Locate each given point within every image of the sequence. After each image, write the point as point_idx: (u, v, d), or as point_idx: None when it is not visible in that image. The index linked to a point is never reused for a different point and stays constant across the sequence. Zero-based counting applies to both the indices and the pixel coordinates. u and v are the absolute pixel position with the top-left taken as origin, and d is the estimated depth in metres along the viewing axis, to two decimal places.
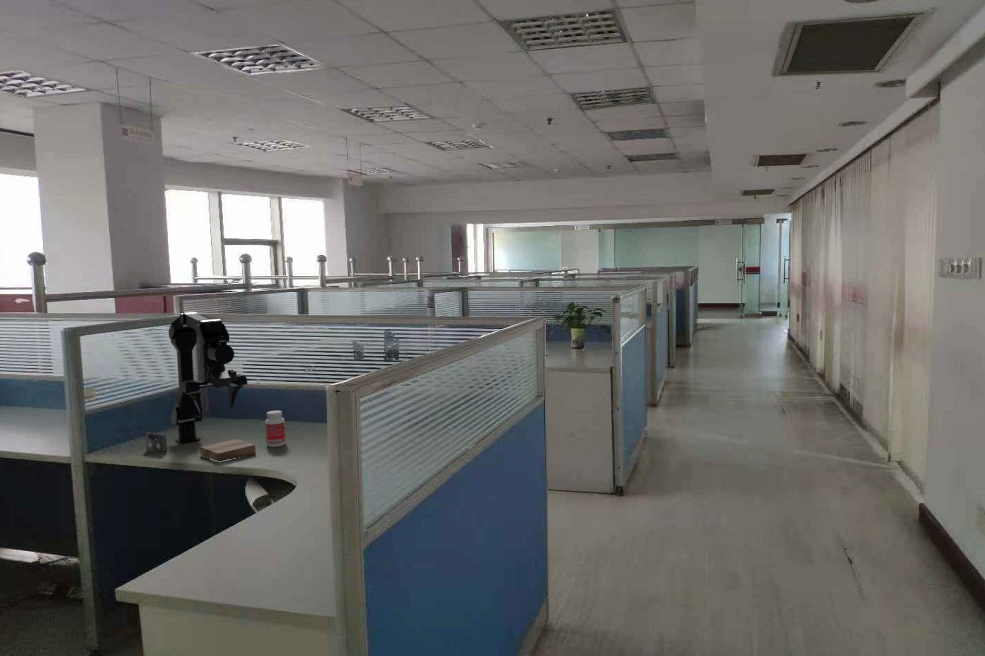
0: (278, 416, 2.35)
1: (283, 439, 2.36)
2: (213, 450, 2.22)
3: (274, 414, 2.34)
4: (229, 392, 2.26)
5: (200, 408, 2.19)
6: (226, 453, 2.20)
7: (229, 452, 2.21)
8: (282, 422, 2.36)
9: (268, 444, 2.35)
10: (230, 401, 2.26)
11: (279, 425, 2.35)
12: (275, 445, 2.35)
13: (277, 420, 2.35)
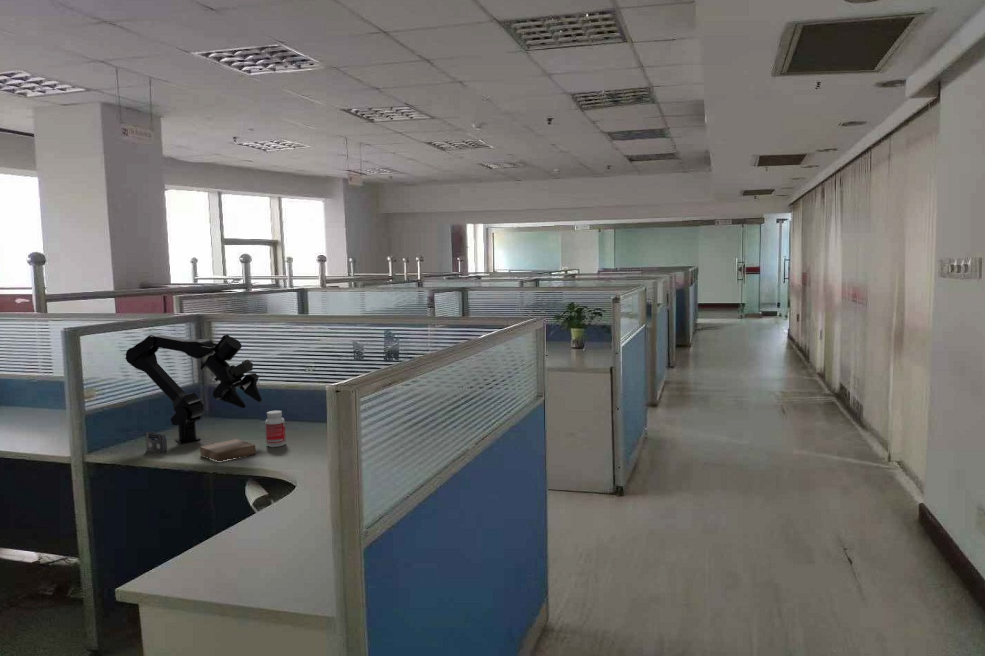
0: (278, 416, 2.35)
1: (283, 439, 2.36)
2: (213, 450, 2.22)
3: (274, 414, 2.34)
4: (250, 392, 2.43)
5: (242, 402, 2.33)
6: (226, 453, 2.20)
7: (229, 452, 2.21)
8: (282, 422, 2.36)
9: (268, 444, 2.35)
10: (256, 395, 2.42)
11: (279, 425, 2.35)
12: (275, 445, 2.35)
13: (277, 420, 2.35)
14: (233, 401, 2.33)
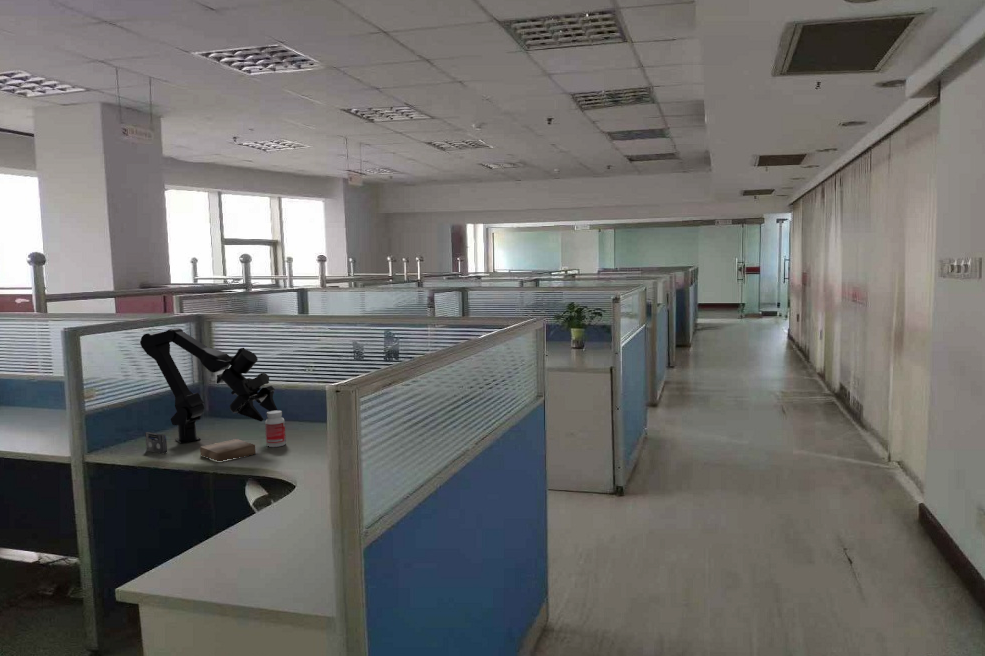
0: (278, 416, 2.35)
1: (283, 439, 2.36)
2: (213, 450, 2.22)
3: (274, 414, 2.34)
4: (266, 405, 2.42)
5: (259, 415, 2.32)
6: (226, 453, 2.20)
7: (229, 452, 2.21)
8: (282, 422, 2.36)
9: (268, 444, 2.35)
10: (273, 408, 2.42)
11: (279, 425, 2.35)
12: (275, 445, 2.35)
13: (277, 420, 2.35)
14: (250, 414, 2.32)
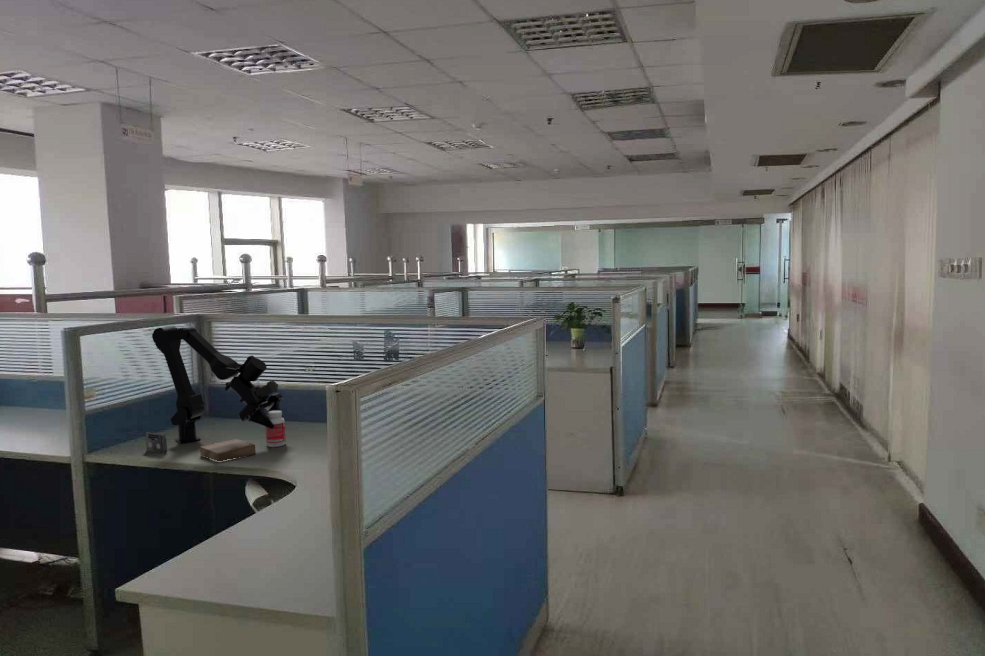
0: (278, 416, 2.35)
1: (283, 439, 2.36)
2: (213, 450, 2.22)
3: (274, 414, 2.34)
4: None
5: (270, 422, 2.33)
6: (226, 453, 2.20)
7: (229, 452, 2.21)
8: (282, 422, 2.36)
9: (268, 444, 2.35)
10: None
11: (279, 425, 2.35)
12: (275, 445, 2.35)
13: (277, 420, 2.35)
14: (262, 422, 2.33)
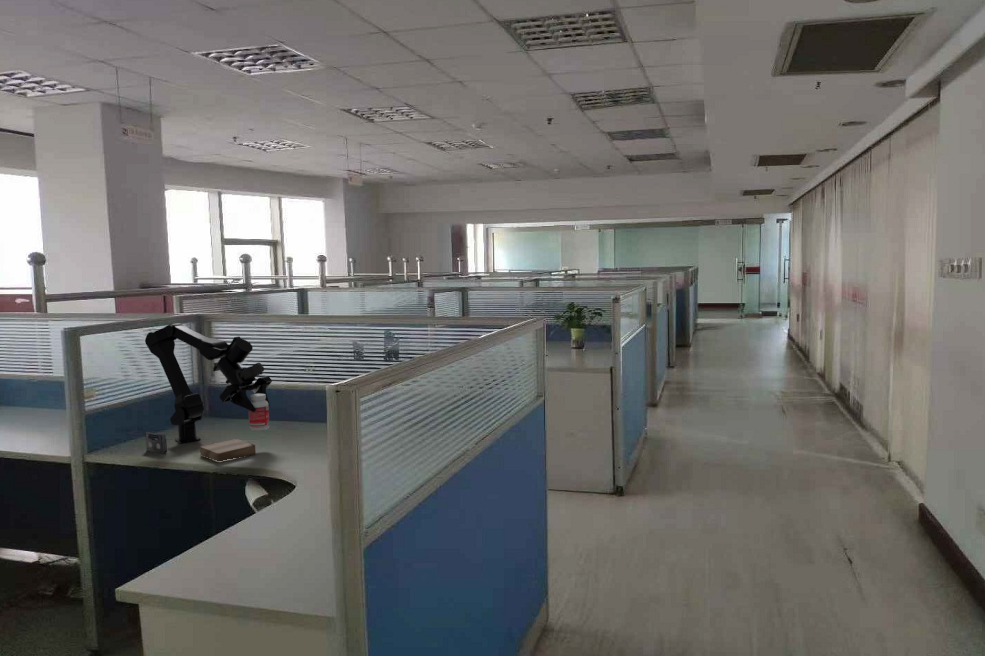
0: (261, 399, 2.30)
1: (265, 423, 2.31)
2: (213, 450, 2.22)
3: (256, 397, 2.29)
4: None
5: (252, 405, 2.28)
6: (226, 453, 2.20)
7: (229, 452, 2.21)
8: (265, 406, 2.30)
9: (250, 427, 2.30)
10: None
11: (261, 409, 2.29)
12: (257, 429, 2.30)
13: (259, 403, 2.29)
14: (243, 404, 2.28)
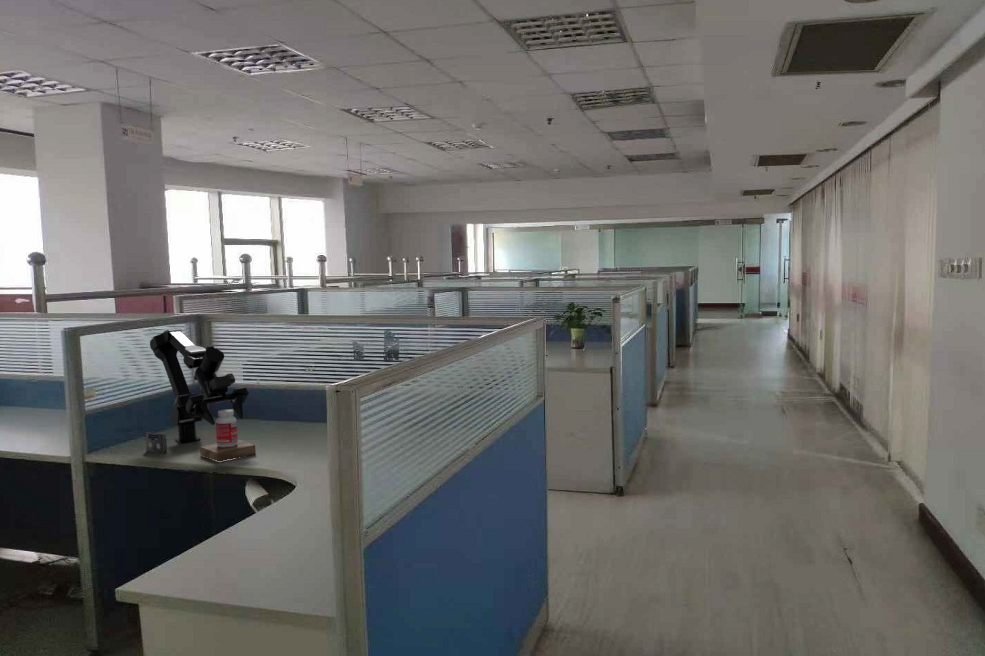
0: (226, 415, 2.24)
1: (230, 440, 2.24)
2: (213, 450, 2.22)
3: (221, 413, 2.23)
4: (235, 407, 2.31)
5: (211, 418, 2.21)
6: (226, 453, 2.20)
7: (229, 452, 2.21)
8: (229, 422, 2.24)
9: None
10: (239, 412, 2.29)
11: (225, 425, 2.23)
12: (221, 445, 2.24)
13: (224, 420, 2.23)
14: (204, 416, 2.23)
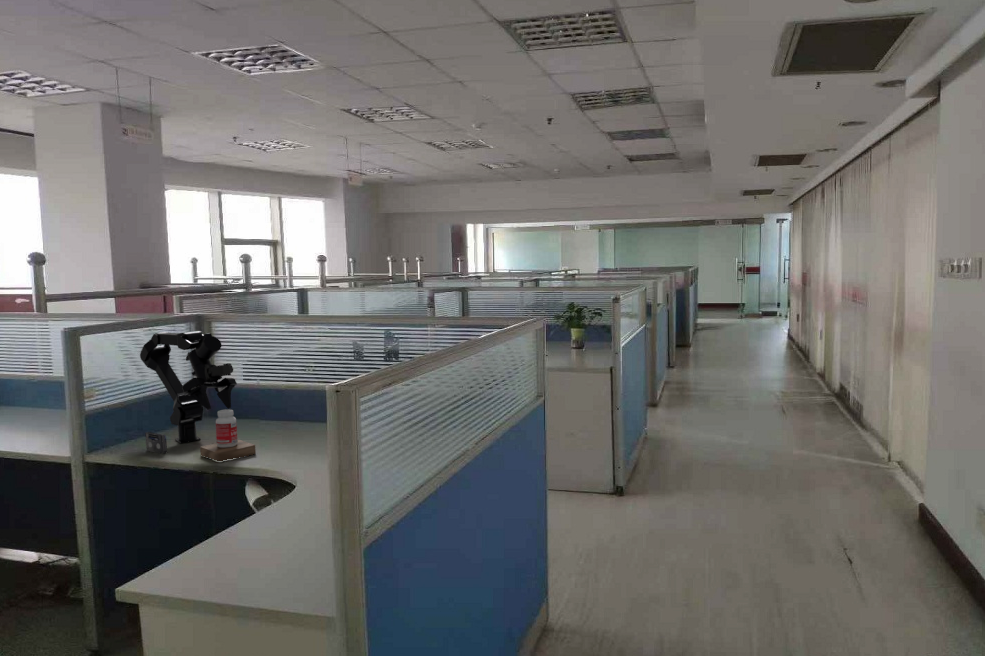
0: (225, 416, 2.24)
1: (230, 440, 2.24)
2: (213, 450, 2.22)
3: (221, 413, 2.23)
4: (222, 396, 2.38)
5: (208, 403, 2.28)
6: (226, 453, 2.20)
7: (229, 452, 2.21)
8: (229, 423, 2.24)
9: None
10: (227, 401, 2.37)
11: (224, 426, 2.23)
12: (221, 446, 2.24)
13: (223, 420, 2.23)
14: (200, 400, 2.28)
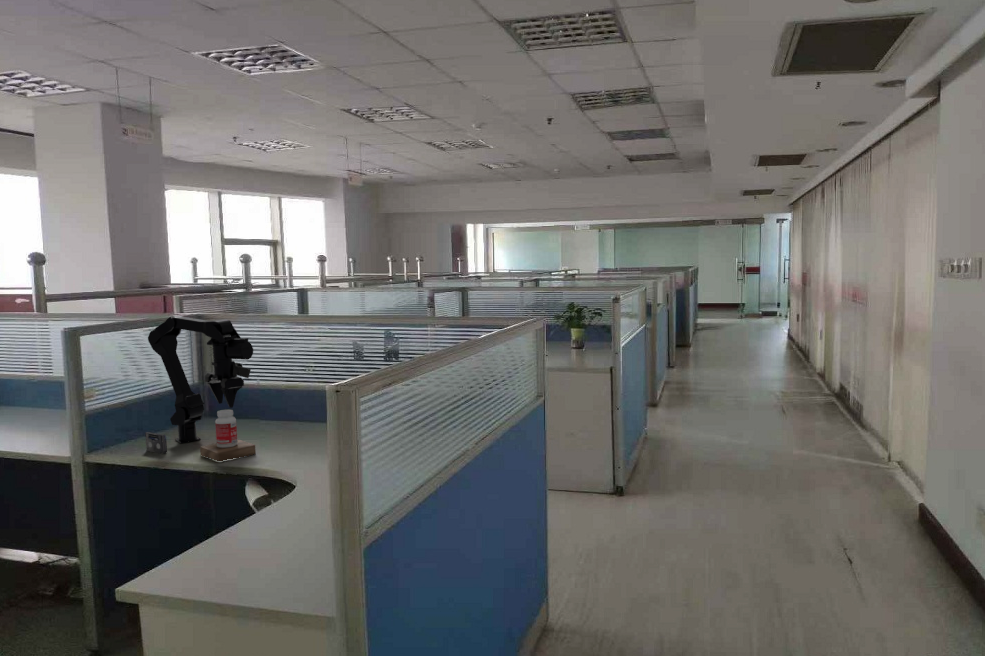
0: (225, 416, 2.24)
1: (230, 441, 2.24)
2: (213, 450, 2.22)
3: (220, 413, 2.23)
4: (216, 389, 2.41)
5: None
6: (226, 453, 2.20)
7: (229, 452, 2.21)
8: (229, 423, 2.24)
9: None
10: (220, 396, 2.42)
11: (224, 426, 2.23)
12: (221, 446, 2.24)
13: (223, 420, 2.23)
14: (229, 397, 2.33)
